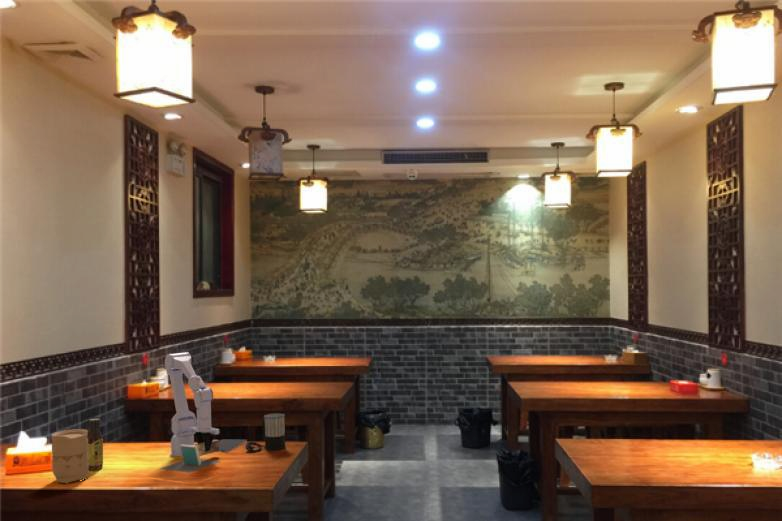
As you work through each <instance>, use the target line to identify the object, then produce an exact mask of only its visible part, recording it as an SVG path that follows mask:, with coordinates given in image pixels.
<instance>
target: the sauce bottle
mask: <svg viewBox="0 0 782 521" xmlns="http://www.w3.org/2000/svg"><path fill="white" fill-rule="evenodd" d="M88 423H89V432H87V433H88V436H87V439H88V471H95V470H96V471H97V470H100V469H102V468H103V464H104V438H103V435H102V433H101V429H100V423H101V420H100V418H92V419H91V418H90V419H89V421H88Z"/></svg>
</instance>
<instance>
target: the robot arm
mask: <svg viewBox="0 0 782 521" xmlns="http://www.w3.org/2000/svg"><path fill="white" fill-rule="evenodd" d="M192 365H193V364H192V356H191V353H189V352H188V351H185V352H179V353H167V354H166V356H165V360H164V367H165V371H166V374H167V375H169V379H170V385H171V390H172V396H173V401H174V406H175V411H176V412H175V414H174V415H173V417H172V418H171V419H170V420H171V431H172V433H173V435H172V437H171V439H170V455H169V456H170V457H171V456H174V457H182V458H183V455H182V451H181V445H182V444H185V445H195V441H196V444H199V443H203V442H204V443H205V451H206V452H207V451H210V448H211V444H212V441H213V440H214V439H215V436H216V435H219V434H220V429H219V428H216V427H213V426H212V404H211V402H212V401H213V399H214V391H213V388H211V387H209V386H208V385H206V383H205V382H204V381H203V379H202V378H201V376H200V375H197V374H196V372H195V370H194V368H193V366H192ZM183 374H184V375H185V377H186V378H187V380H188V381H187V384H188V386H189V388H190V390H191V392H192V393H193V395H192V396H193V401H194V406H195V408H196V415H195V413H194V412H193V411H191V410H189V404H188V400H187V399H188V398H187V395H186V390H185V389H186V388H185V384H184V379H183Z"/></svg>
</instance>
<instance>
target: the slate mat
mask: <svg viewBox="0 0 782 521" xmlns="http://www.w3.org/2000/svg"><path fill="white" fill-rule="evenodd" d="M200 460H201V465H191V464H184V460H182V461H179V462H176V463H173V464H170V465H166V466H162V467H161V468H160V467H159V469H160V470H165V471H166V470H167V471H175V472H183V473H192V472H196V471H198V470H201V469H204V468H207V467H210V466H212V465H215V464H217V463H220V462H222V460H215V459H207V458H200Z"/></svg>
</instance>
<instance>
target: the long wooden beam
mask: <svg viewBox="0 0 782 521" xmlns="http://www.w3.org/2000/svg"><path fill="white" fill-rule="evenodd" d="M219 441H220V439H213V441H212V444H211V448H210V451H207V452H206V451H205V443H204V442H203V443H199V444H198V443H196V444H195V443H194V445H195V446H197V447H198V451H199V456H200V457H201V456H205V455H210V454H213V453H218V452H217V451H219Z"/></svg>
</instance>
